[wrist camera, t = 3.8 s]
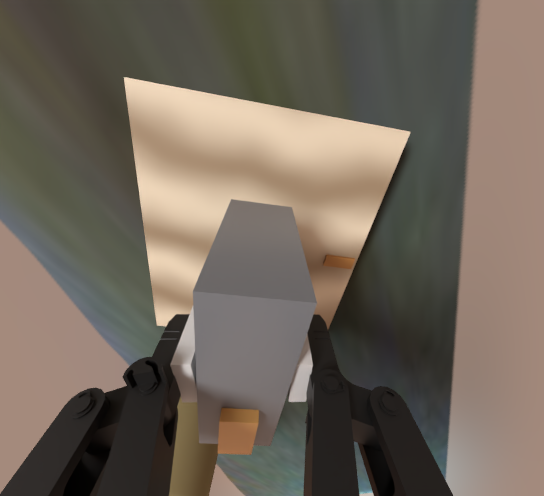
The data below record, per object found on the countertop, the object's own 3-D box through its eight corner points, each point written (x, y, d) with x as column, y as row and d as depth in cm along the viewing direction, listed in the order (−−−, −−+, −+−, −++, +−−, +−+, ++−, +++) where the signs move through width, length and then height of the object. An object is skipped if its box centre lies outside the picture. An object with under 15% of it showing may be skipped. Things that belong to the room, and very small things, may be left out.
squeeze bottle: (223, 394, 33) (184, 644, 17) (165, 383, 31) (66, 649, 16) (241, 362, 29) (212, 645, 14) (177, 347, 27) (60, 651, 12)
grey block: (231, 199, 13) (187, 303, 6) (291, 207, 14) (320, 316, 6) (224, 319, 18) (196, 456, 11) (269, 322, 19) (270, 458, 11)
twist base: (141, 81, 14) (94, 69, 10) (395, 129, 16) (436, 135, 12) (164, 310, 24) (145, 347, 20) (319, 325, 26) (328, 363, 22)
